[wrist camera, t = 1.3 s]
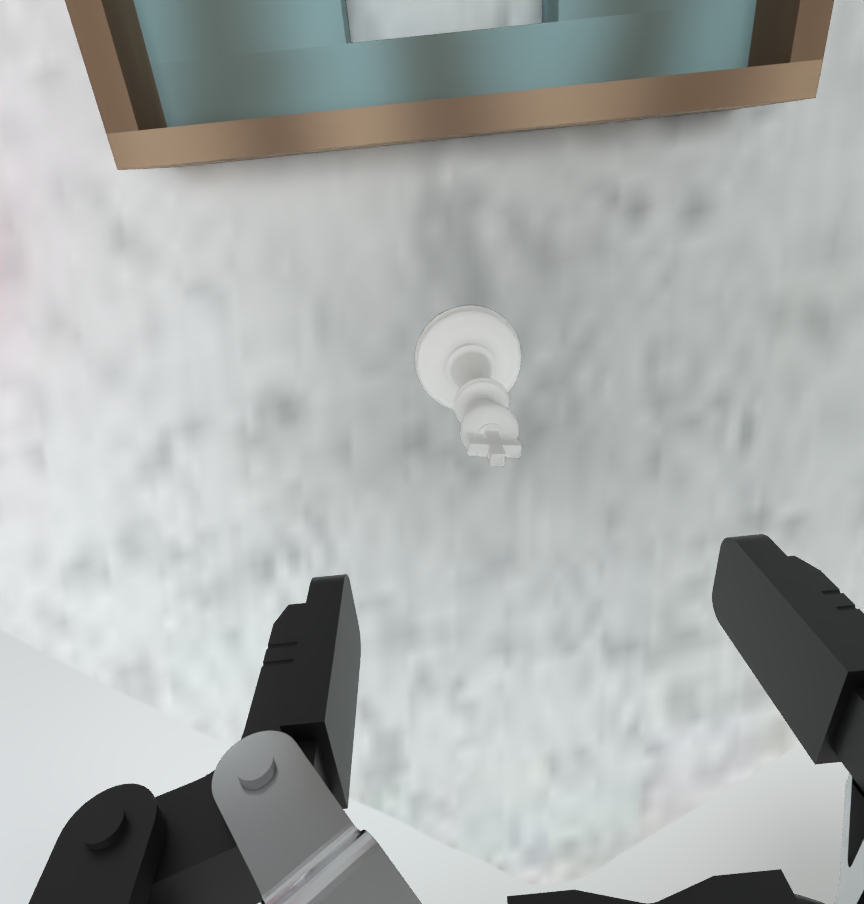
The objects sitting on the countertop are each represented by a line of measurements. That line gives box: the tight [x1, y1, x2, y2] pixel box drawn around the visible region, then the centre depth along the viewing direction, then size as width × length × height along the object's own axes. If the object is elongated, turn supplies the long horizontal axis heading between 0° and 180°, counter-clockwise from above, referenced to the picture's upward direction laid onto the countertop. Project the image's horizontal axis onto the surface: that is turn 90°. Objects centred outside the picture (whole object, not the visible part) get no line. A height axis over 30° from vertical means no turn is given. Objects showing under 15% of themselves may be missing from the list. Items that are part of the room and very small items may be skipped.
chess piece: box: [415, 305, 522, 467], centre depth 22 cm, size 5×5×10 cm
